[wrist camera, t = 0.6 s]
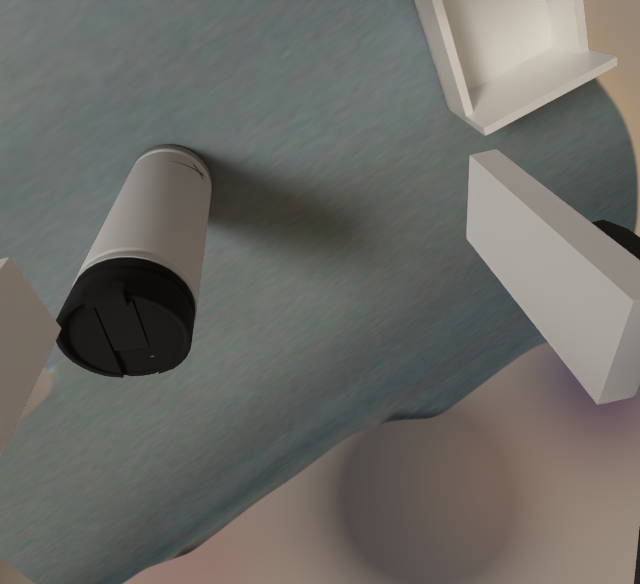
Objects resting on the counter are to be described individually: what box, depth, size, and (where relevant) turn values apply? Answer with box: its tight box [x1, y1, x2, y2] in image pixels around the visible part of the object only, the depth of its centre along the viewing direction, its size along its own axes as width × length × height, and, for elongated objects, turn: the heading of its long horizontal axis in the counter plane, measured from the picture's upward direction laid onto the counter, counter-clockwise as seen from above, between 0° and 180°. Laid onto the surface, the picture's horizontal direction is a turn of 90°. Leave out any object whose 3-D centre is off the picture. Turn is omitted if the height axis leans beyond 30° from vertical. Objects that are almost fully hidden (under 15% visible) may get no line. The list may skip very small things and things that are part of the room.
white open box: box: [414, 0, 618, 136], centre depth 30 cm, size 10×9×7 cm
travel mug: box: [56, 144, 212, 378], centre depth 29 cm, size 6×7×20 cm
